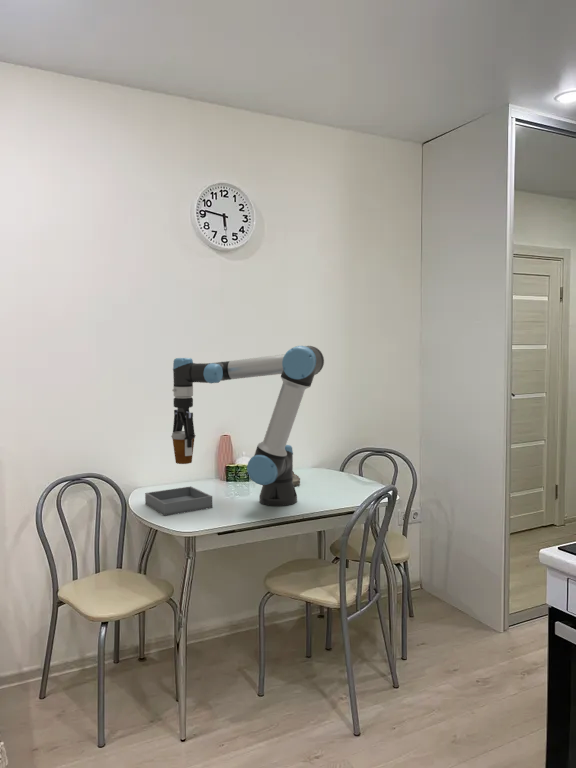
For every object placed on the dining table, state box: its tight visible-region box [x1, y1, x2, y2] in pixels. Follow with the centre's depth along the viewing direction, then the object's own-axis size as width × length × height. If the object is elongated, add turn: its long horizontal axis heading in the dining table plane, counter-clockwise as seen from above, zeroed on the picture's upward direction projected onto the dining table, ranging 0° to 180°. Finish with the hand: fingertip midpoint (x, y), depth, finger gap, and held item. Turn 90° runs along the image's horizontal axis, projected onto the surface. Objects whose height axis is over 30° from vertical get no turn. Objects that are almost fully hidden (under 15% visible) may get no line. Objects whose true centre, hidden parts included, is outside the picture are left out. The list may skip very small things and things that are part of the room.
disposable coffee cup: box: [170, 430, 196, 465], centre depth 243 cm, size 10×10×12 cm
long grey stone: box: [293, 471, 301, 487], centre depth 285 cm, size 35×5×10 cm
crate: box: [144, 486, 213, 517], centre depth 240 cm, size 20×20×4 cm
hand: (183, 453), depth 243 cm, fingers closed on disposable coffee cup, 9 cm apart
